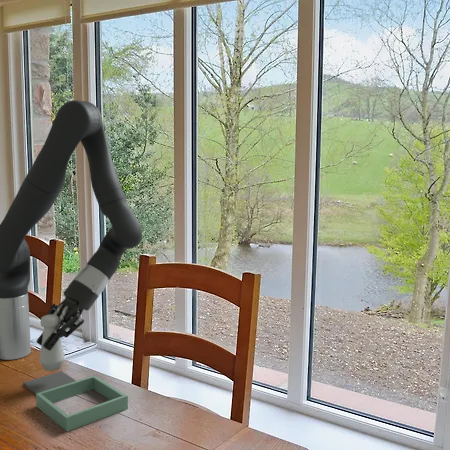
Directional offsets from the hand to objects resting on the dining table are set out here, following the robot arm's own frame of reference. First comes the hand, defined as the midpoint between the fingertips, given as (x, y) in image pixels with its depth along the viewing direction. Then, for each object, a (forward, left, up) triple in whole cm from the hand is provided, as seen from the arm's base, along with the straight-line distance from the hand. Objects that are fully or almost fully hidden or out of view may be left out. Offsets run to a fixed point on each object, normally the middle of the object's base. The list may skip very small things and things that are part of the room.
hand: (43, 346), depth 131 cm
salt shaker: (0, +2, -6) cm, 6 cm away
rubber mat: (0, +2, -11) cm, 11 cm away
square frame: (+15, +2, -11) cm, 18 cm away
